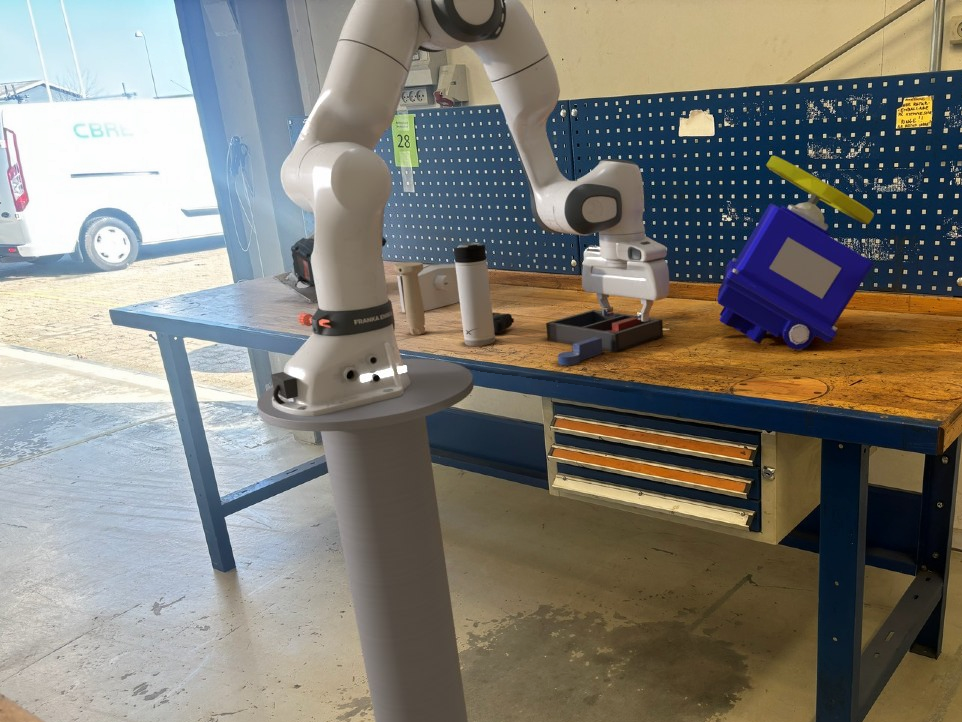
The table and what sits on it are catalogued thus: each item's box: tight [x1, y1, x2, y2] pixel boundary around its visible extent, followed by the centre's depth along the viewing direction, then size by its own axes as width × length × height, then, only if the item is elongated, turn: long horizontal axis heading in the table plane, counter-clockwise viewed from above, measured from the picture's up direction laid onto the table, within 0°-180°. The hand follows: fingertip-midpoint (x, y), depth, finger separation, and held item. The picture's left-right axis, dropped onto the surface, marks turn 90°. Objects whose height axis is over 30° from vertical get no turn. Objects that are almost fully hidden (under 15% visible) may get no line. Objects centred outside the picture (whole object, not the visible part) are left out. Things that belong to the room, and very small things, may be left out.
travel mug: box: [453, 244, 496, 347], centre depth 171 cm, size 6×7×20 cm
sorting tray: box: [545, 309, 664, 353], centre depth 171 cm, size 14×19×4 cm
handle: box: [393, 261, 426, 336], centre depth 183 cm, size 5×6×15 cm
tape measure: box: [492, 312, 515, 334], centre depth 182 cm, size 7×7×4 cm
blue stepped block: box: [557, 337, 603, 367], centre depth 157 cm, size 10×4×3 cm, turn 137°
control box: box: [717, 155, 875, 351], centre depth 162 cm, size 26×27×30 cm
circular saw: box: [272, 229, 387, 303], centre depth 233 cm, size 21×36×25 cm
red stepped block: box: [607, 317, 639, 333], centre depth 168 cm, size 10×4×3 cm, turn 136°
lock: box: [396, 263, 460, 314], centre depth 211 cm, size 19×9×10 cm, turn 143°
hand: (625, 318), depth 169 cm, fingers open, 8 cm apart
